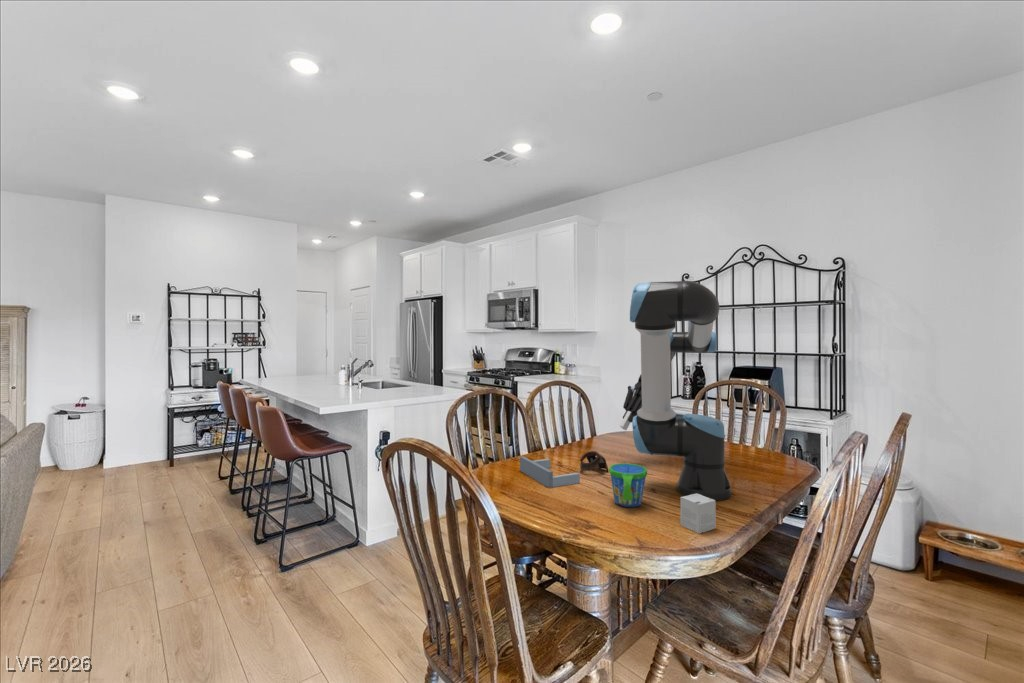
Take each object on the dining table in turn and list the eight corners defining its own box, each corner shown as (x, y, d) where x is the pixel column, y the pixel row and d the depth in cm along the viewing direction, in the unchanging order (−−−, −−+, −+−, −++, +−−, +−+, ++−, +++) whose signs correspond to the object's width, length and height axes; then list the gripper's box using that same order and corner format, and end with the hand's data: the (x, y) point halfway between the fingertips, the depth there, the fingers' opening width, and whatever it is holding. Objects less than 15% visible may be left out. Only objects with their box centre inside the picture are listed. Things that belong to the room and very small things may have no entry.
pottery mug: (614, 476, 165) (605, 457, 162) (589, 488, 165) (580, 469, 162) (603, 458, 176) (595, 440, 174) (580, 469, 176) (571, 452, 174)
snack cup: (644, 515, 127) (644, 477, 127) (604, 510, 131) (604, 473, 131) (649, 496, 142) (649, 462, 142) (613, 492, 146) (613, 459, 146)
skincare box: (696, 520, 124) (696, 492, 124) (716, 529, 118) (716, 499, 118) (679, 525, 121) (679, 496, 121) (699, 534, 115) (699, 504, 115)
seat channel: (548, 466, 175) (548, 453, 174) (579, 483, 155) (579, 467, 155) (520, 470, 170) (519, 456, 170) (548, 487, 151) (548, 472, 151)
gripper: (670, 384, 178) (642, 438, 171) (642, 377, 188) (613, 428, 182) (662, 373, 174) (632, 427, 167) (633, 367, 184) (604, 418, 177)
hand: (622, 428), depth 174 cm, fingers closed
